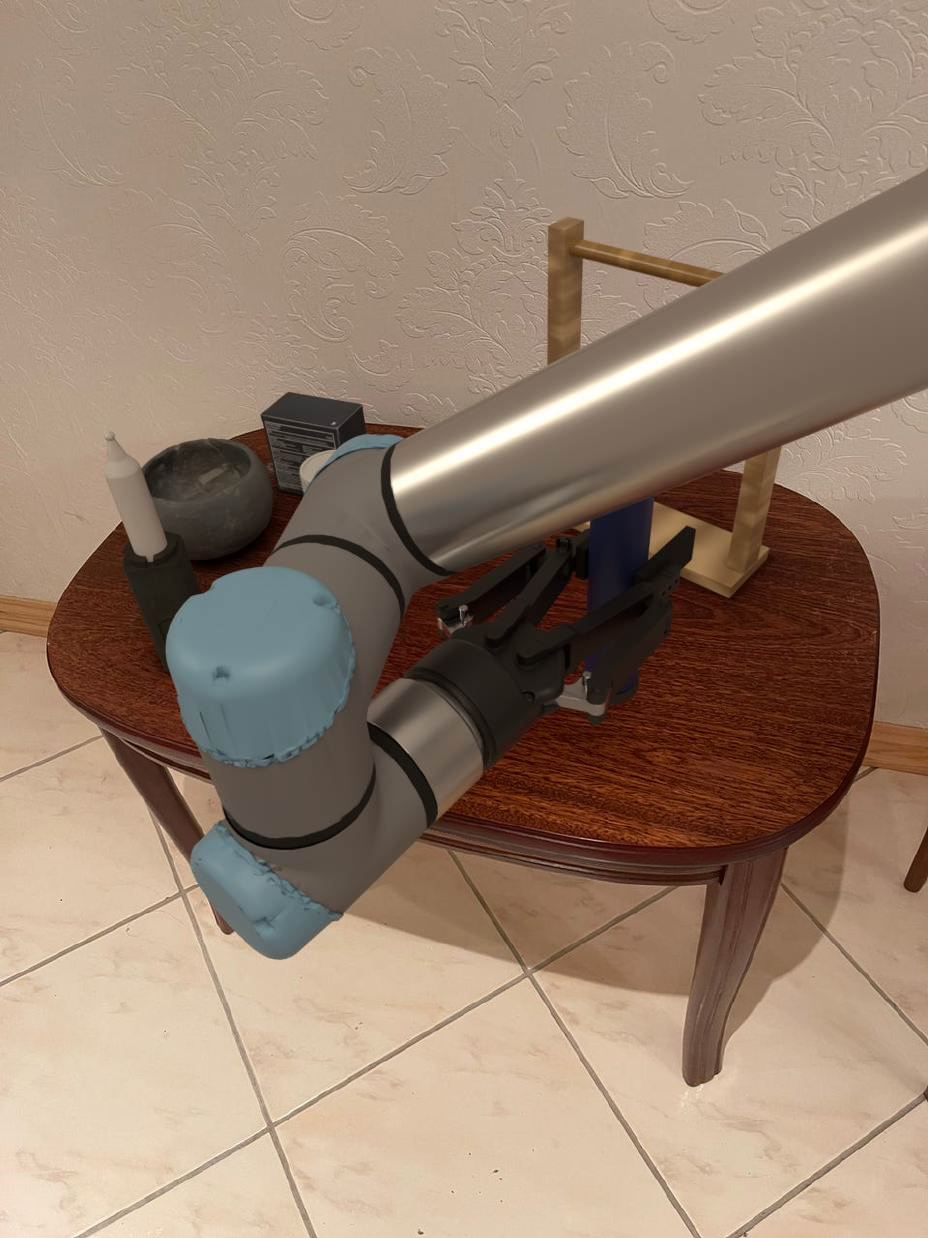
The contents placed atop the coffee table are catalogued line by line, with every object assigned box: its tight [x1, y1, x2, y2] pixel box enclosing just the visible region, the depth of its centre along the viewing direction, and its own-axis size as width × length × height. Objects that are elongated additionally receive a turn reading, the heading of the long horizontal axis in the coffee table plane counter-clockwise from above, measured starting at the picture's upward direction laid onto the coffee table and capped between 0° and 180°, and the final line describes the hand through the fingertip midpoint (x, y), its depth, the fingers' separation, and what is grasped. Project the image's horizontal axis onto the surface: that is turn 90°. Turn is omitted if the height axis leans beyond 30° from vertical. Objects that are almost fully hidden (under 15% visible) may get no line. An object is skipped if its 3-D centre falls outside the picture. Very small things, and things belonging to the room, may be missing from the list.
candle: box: [103, 430, 202, 674], centre depth 79 cm, size 5×5×25 cm
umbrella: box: [580, 496, 655, 706], centre depth 61 cm, size 10×4×26 cm, turn 139°
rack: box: [546, 216, 783, 599], centre depth 87 cm, size 25×8×31 cm, turn 48°
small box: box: [259, 391, 368, 497], centre depth 105 cm, size 11×6×10 cm, turn 66°
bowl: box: [141, 437, 274, 561], centre depth 98 cm, size 15×15×10 cm
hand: (659, 530), depth 64 cm, fingers closed on umbrella, 4 cm apart
